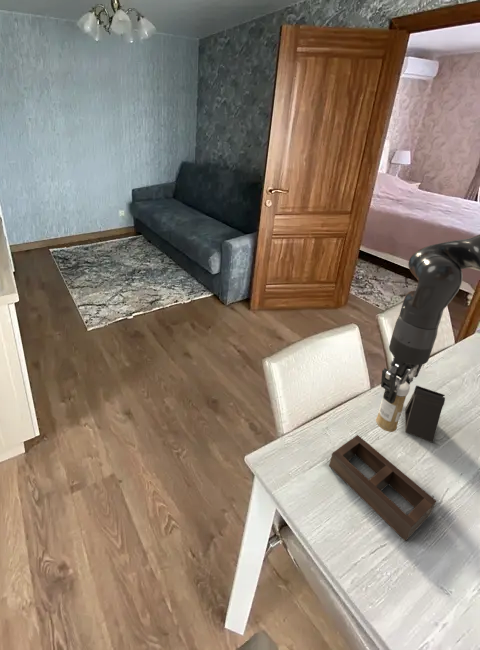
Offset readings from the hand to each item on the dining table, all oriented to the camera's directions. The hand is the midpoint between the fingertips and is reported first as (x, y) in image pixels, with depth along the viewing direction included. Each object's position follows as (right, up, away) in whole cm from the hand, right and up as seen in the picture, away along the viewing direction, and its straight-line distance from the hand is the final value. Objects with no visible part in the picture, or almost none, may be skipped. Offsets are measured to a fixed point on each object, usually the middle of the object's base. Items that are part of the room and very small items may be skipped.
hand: (394, 395), depth 82 cm
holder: (-7, -19, -4) cm, 21 cm away
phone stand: (+14, -13, +12) cm, 22 cm away
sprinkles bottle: (0, -9, +4) cm, 10 cm away
